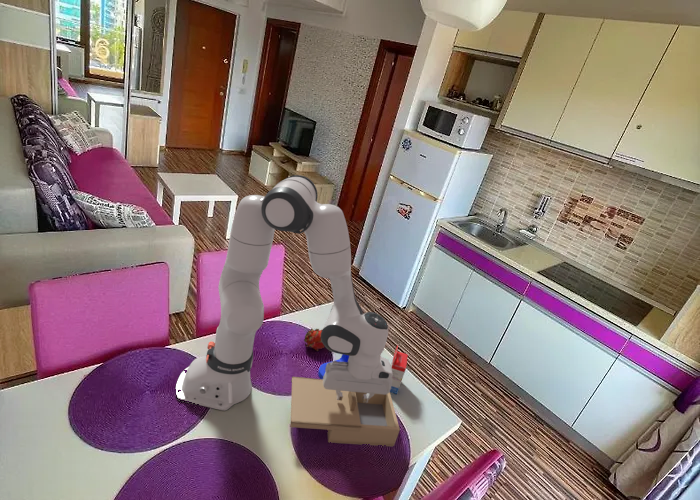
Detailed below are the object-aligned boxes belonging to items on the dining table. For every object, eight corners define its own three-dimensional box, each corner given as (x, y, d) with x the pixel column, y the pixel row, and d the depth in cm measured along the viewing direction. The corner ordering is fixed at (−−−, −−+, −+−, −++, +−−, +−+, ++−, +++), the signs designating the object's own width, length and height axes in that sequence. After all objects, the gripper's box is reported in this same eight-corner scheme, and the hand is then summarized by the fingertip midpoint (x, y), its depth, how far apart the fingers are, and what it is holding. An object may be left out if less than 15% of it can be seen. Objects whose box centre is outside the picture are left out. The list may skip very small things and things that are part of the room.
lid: (289, 427, 111) (293, 412, 109) (291, 381, 127) (294, 367, 125) (359, 431, 115) (364, 418, 113) (352, 386, 131) (356, 374, 129)
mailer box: (328, 442, 117) (333, 425, 114) (325, 400, 131) (329, 384, 128) (393, 446, 121) (399, 429, 118) (383, 405, 135) (389, 389, 132)
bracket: (354, 359, 153) (360, 340, 150) (367, 373, 147) (373, 354, 144) (313, 370, 143) (318, 350, 139) (325, 386, 137) (330, 365, 133)
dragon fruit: (298, 351, 152) (325, 350, 159) (309, 352, 146) (337, 351, 152) (299, 328, 154) (325, 328, 161) (310, 328, 147) (337, 328, 154)
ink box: (397, 395, 141) (408, 362, 135) (383, 390, 141) (394, 357, 135) (399, 379, 148) (410, 347, 143) (386, 375, 149) (397, 343, 143)
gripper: (328, 368, 111) (318, 405, 117) (398, 375, 115) (385, 410, 120) (326, 353, 117) (317, 389, 122) (393, 360, 121) (381, 394, 126)
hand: (351, 399), depth 121 cm, fingers open, 7 cm apart
